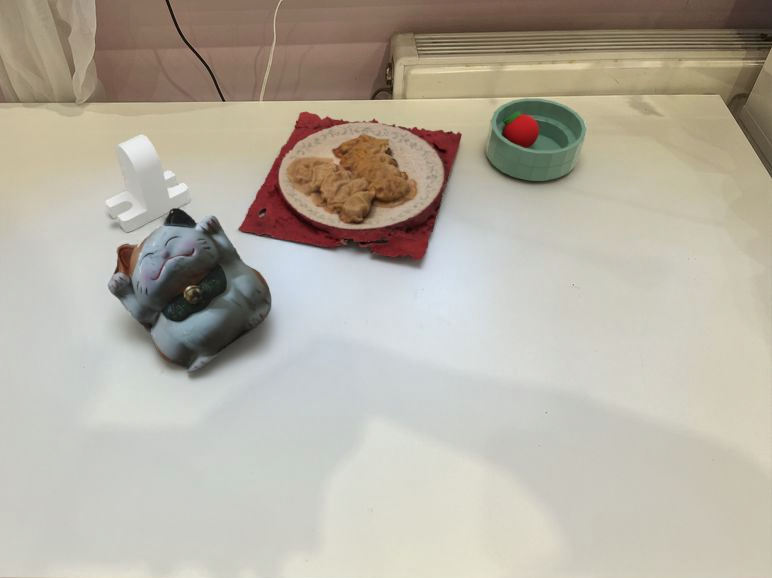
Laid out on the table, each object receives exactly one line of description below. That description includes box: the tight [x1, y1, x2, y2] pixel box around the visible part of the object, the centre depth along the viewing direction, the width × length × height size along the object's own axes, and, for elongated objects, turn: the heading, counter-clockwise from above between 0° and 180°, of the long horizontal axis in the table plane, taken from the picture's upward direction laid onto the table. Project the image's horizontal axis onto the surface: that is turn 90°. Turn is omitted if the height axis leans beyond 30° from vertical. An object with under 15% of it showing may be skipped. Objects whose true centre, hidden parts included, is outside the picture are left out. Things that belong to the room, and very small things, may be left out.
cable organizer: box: [105, 133, 191, 233], centre depth 87 cm, size 5×10×10 cm, turn 128°
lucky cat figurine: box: [107, 207, 273, 373], centre depth 74 cm, size 15×12×14 cm
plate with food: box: [238, 111, 463, 261], centre depth 91 cm, size 24×26×4 cm
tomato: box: [503, 111, 539, 148], centre depth 93 cm, size 5×5×5 cm
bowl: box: [485, 97, 588, 182], centre depth 93 cm, size 12×12×5 cm
